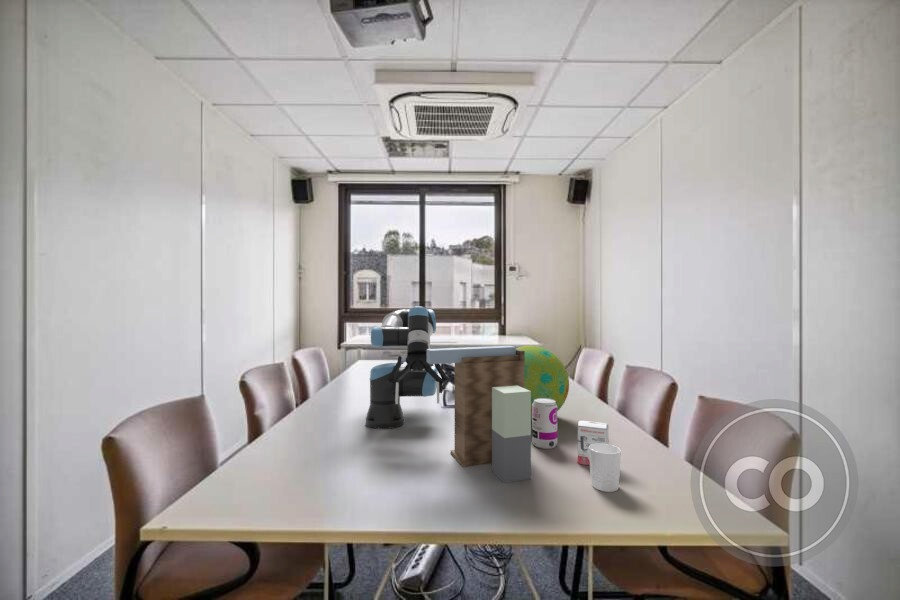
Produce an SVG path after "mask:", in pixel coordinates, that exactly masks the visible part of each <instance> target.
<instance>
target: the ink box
mask: <svg viewBox="0 0 900 600" xmlns="http://www.w3.org/2000/svg"><path fill="white" fill-rule="evenodd" d="M595 443H604V444H609V424H608V423H607V422H599V421H597V422H596V421H589V420H578V422H577V464H578V465H585V466H590V459H589V446H590V445H591V444H595Z"/></svg>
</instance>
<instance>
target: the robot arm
mask: <svg viewBox="0 0 900 600" xmlns="http://www.w3.org/2000/svg"><path fill="white" fill-rule="evenodd" d="M436 331H437V321H436V314H435V311H434V310H433V309H432V308H431V309H430V308H429V309H428V308H426V307H424V306H421V305H420V306H419V305H418V306H413V307H411V308H407V309H406V308H404V309H403V308H402V309H395V310H393V311H391V312H389V313H387V314H386V315H385V316H384V317H383V319H382V321H381V326H375V327H372V328H371V331H370V344H371V346H373V347H379V348H381V347H407V349H406V350H407V352H406V357H402V356H400V355H399V356H398V357H397V362H388V363H381V364H378V365H375V366H373V367H372V368H371V369H370V373H369V374H370V375H369V376H370V377H369V392H370V393H369V407H368V410H367V413H366V417H365V425H366V427H369V428H372V429H378V430H381V429H393V428H399V427H401V426H402V425H404V423H405V415H404V411H403V409H402V405H401V398H402V397H424V398H426V397H431V396H435V394H436V404H440V394H443V391H444V389H443V386H444V384H446V383H448V376H447V374H446V373H445V371H444V369H443V367H442V366H441V364H429V363H427V349H431V337H432V335H433V334H434V333H436ZM404 363H406V365H405V366H402V365H403V364H404ZM438 373H439V374H438Z"/></svg>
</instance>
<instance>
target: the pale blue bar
mask: <svg viewBox="0 0 900 600" xmlns="http://www.w3.org/2000/svg"><path fill="white" fill-rule="evenodd" d="M516 348H517V346H513V345H494V346H493V345H491V346H490V345H489V346H474V347H473V346H470V347H465V346H464V347H446V348H445V347H443V348H441V347H440V348H430V349H427V363H429V364H433V365H434V364H440V365H441V364H455V363H462V358H469V357H489V356H510V355H516Z"/></svg>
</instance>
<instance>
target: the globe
mask: <svg viewBox="0 0 900 600" xmlns="http://www.w3.org/2000/svg"><path fill="white" fill-rule="evenodd" d="M516 349H519V350H523V351H525V389H527V390H529V391H531V422H532V404H533V402H534V400H535V399H538V398H548V399H553V400H555V402H556V404H557V412H558V411H559V410H561V408H562V407H563V406H564V404H565V402H566V401H567V398H568V396H569V389H570V379H569V375H568V372H567V369H566V366H565V365H564V363H563V361H561V359H560V358H559V357H558V356H557V355H556V354H555V353H554V352H553V351H551V350H550V349H549V350H548V349H547V348H544V347H543V346H542V347H541V346H537V345H522V346H519V347H516Z"/></svg>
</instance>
